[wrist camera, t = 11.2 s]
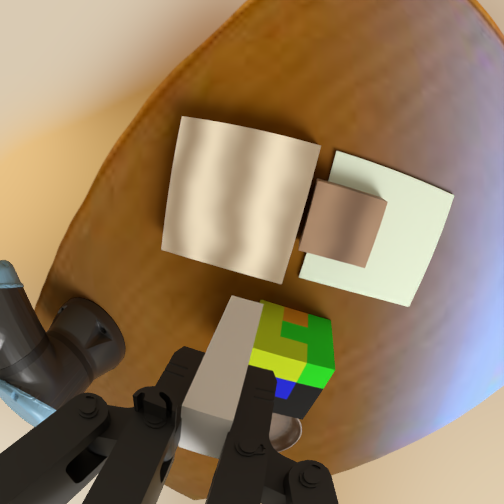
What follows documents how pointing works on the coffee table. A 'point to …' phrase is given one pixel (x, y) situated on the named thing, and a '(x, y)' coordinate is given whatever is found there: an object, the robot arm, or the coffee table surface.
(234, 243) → the plate
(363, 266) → the walnut tile
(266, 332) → the puzzle toy
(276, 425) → the plant saucer
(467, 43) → the coffee table surface
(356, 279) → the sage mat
